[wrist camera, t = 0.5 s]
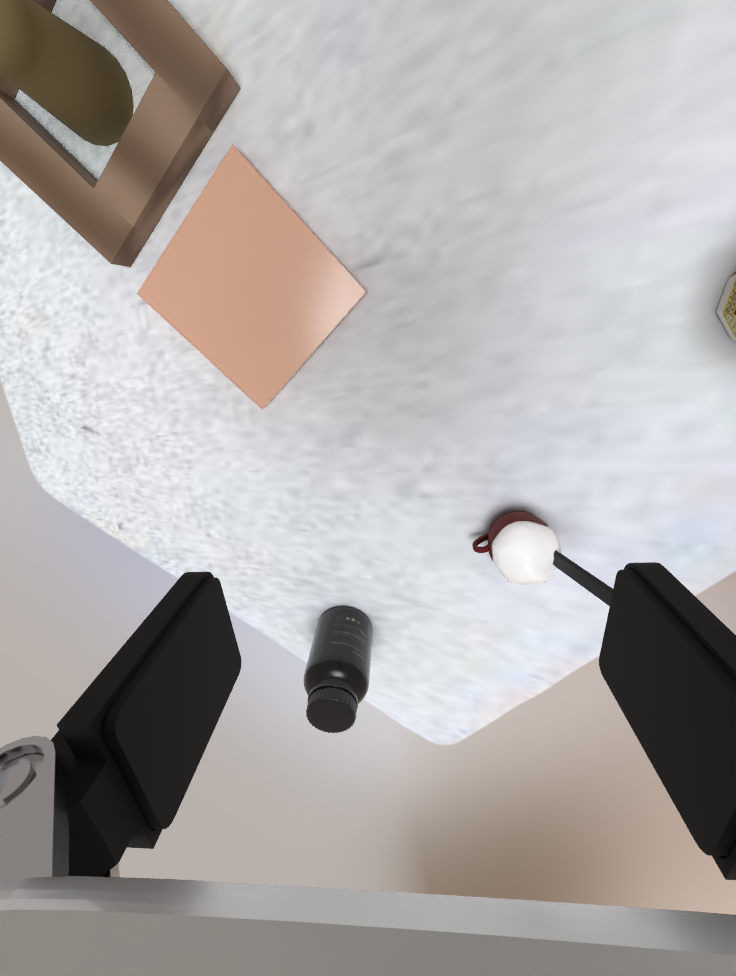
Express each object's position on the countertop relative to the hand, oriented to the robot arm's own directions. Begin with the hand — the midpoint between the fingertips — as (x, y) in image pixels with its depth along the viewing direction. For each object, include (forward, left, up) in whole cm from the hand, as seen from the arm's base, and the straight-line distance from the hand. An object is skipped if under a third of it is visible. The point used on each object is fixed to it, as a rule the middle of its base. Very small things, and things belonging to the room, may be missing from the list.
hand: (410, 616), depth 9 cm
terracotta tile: (+3, -15, -30) cm, 34 cm away
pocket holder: (+1, -32, -30) cm, 44 cm away
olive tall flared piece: (+1, -32, -30) cm, 44 cm away
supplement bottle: (+24, +16, -30) cm, 42 cm away
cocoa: (+1, +19, -30) cm, 35 cm away
